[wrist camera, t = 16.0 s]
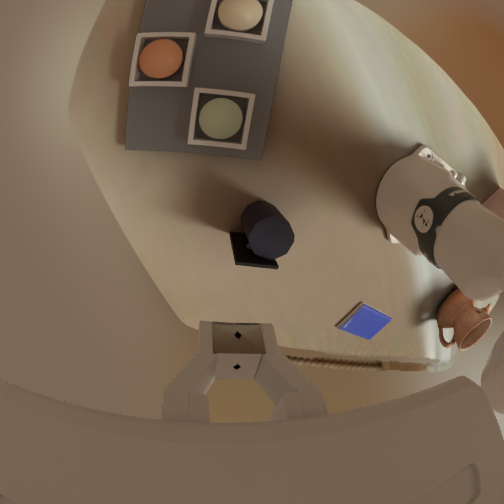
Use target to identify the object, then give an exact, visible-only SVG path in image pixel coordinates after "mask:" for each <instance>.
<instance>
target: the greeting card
mask: <svg viewBox="0 0 504 504" xmlns="http://www.w3.org/2000/svg"><path fill="white" fill-rule="evenodd" d="M481 205H482V206H484V207H485V208H487V209H488V210H490V211H491V212H493V213H494V214H496V215H497V216H499V217H500V218H502V219H504V190H503V189H502V188H499V189H498V190H497V191H496V192H495V193H493V194H492V195H491V196H490V197H489V198H488V199H487V200H486V201H485V202H484V203H483V204H481Z"/></svg>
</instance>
